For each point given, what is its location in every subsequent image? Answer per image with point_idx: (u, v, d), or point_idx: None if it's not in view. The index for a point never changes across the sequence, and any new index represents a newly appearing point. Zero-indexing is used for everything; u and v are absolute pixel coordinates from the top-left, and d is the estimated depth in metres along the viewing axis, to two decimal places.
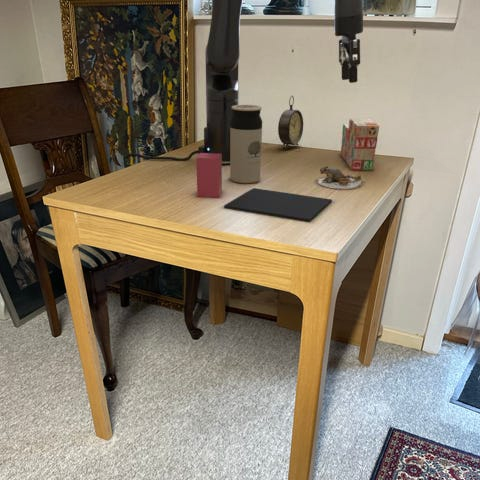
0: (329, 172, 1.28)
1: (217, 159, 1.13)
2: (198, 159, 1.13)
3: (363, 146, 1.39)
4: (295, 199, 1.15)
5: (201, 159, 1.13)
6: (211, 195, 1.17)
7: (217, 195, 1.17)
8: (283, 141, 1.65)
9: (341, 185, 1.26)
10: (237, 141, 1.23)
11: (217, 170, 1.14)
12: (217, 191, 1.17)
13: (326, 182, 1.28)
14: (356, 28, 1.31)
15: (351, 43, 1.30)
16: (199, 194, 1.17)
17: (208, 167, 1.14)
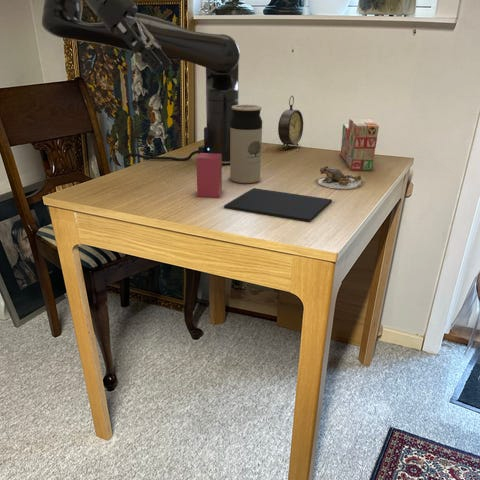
0: (329, 172, 1.28)
1: (217, 159, 1.13)
2: (198, 159, 1.13)
3: (362, 146, 1.39)
4: (295, 199, 1.15)
5: (201, 159, 1.13)
6: (211, 195, 1.17)
7: (217, 195, 1.17)
8: (283, 141, 1.65)
9: (341, 185, 1.26)
10: (237, 141, 1.23)
11: (217, 170, 1.14)
12: (217, 191, 1.17)
13: (326, 182, 1.28)
14: (118, 9, 0.99)
15: (117, 30, 0.98)
16: (199, 194, 1.17)
17: (208, 167, 1.14)
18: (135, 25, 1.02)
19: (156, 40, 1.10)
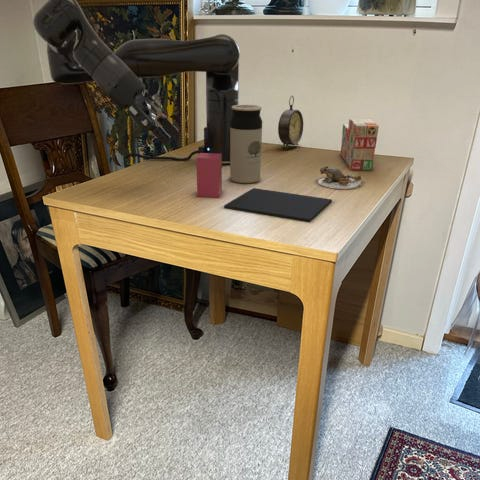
0: (329, 172, 1.28)
1: (217, 159, 1.13)
2: (198, 159, 1.13)
3: (362, 146, 1.39)
4: (295, 199, 1.15)
5: (201, 159, 1.13)
6: (211, 195, 1.17)
7: (217, 195, 1.17)
8: (283, 141, 1.65)
9: (341, 185, 1.26)
10: (237, 141, 1.23)
11: (217, 170, 1.14)
12: (217, 191, 1.17)
13: (326, 182, 1.28)
14: (129, 92, 1.07)
15: (129, 113, 1.06)
16: (199, 194, 1.17)
17: (208, 167, 1.14)
18: (144, 104, 1.09)
19: (163, 110, 1.18)
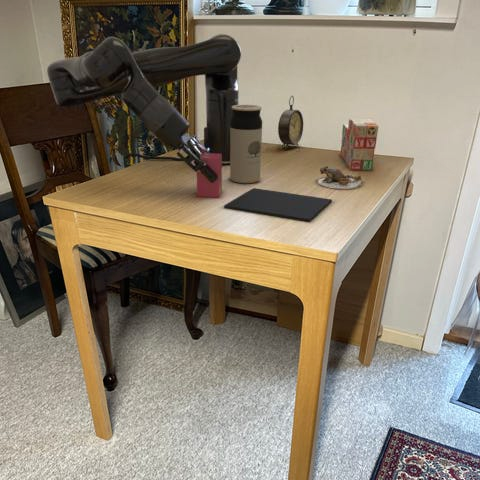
0: (329, 172, 1.28)
1: (217, 159, 1.13)
2: None
3: (362, 146, 1.39)
4: (295, 199, 1.15)
5: None
6: (211, 195, 1.17)
7: (217, 195, 1.17)
8: (283, 141, 1.65)
9: (341, 185, 1.26)
10: (237, 141, 1.23)
11: (217, 170, 1.14)
12: (217, 191, 1.17)
13: (326, 182, 1.28)
14: (175, 132, 1.10)
15: (180, 156, 1.09)
16: (199, 194, 1.17)
17: None
18: (190, 143, 1.12)
19: (206, 149, 1.20)
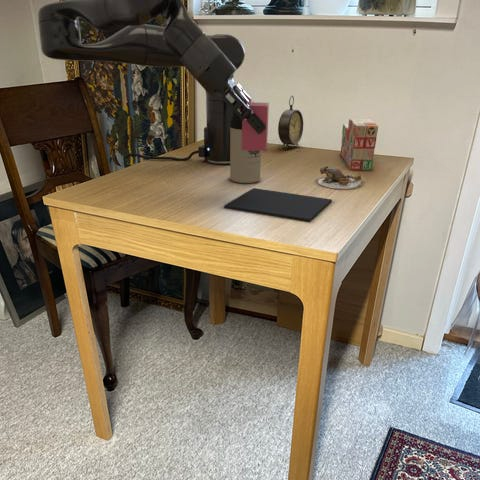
0: (329, 172, 1.28)
1: (266, 107, 1.03)
2: None
3: (362, 146, 1.39)
4: (295, 199, 1.15)
5: None
6: (257, 148, 1.07)
7: (264, 148, 1.07)
8: (283, 141, 1.65)
9: (341, 185, 1.26)
10: (237, 141, 1.23)
11: (265, 119, 1.04)
12: (264, 144, 1.06)
13: (326, 182, 1.28)
14: (221, 75, 0.99)
15: (226, 101, 0.99)
16: (244, 147, 1.07)
17: None
18: (236, 88, 1.02)
19: (251, 99, 1.10)
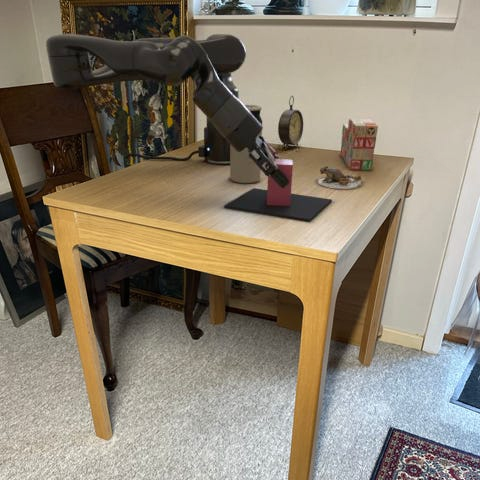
0: (329, 172, 1.28)
1: (291, 165, 1.06)
2: None
3: (362, 146, 1.39)
4: (295, 199, 1.15)
5: None
6: (282, 203, 1.10)
7: (288, 203, 1.10)
8: (283, 141, 1.65)
9: (341, 185, 1.26)
10: None
11: (290, 177, 1.07)
12: (288, 199, 1.10)
13: (326, 182, 1.28)
14: (249, 135, 1.03)
15: (251, 157, 1.02)
16: (269, 202, 1.10)
17: None
18: (263, 146, 1.05)
19: (273, 149, 1.14)
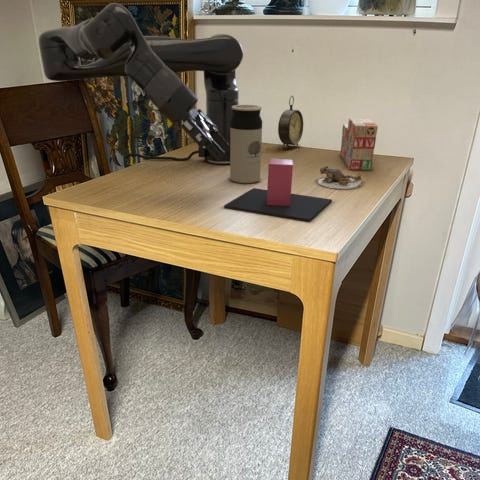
0: (329, 172, 1.28)
1: (291, 165, 1.06)
2: (270, 165, 1.06)
3: (361, 146, 1.39)
4: (295, 199, 1.15)
5: (274, 165, 1.06)
6: (282, 203, 1.10)
7: (288, 203, 1.10)
8: (283, 141, 1.65)
9: (341, 185, 1.26)
10: (237, 141, 1.23)
11: (290, 177, 1.07)
12: (288, 199, 1.10)
13: (326, 182, 1.28)
14: (182, 106, 1.02)
15: (184, 128, 1.01)
16: (269, 202, 1.10)
17: (281, 174, 1.07)
18: (198, 118, 1.05)
19: (213, 123, 1.13)
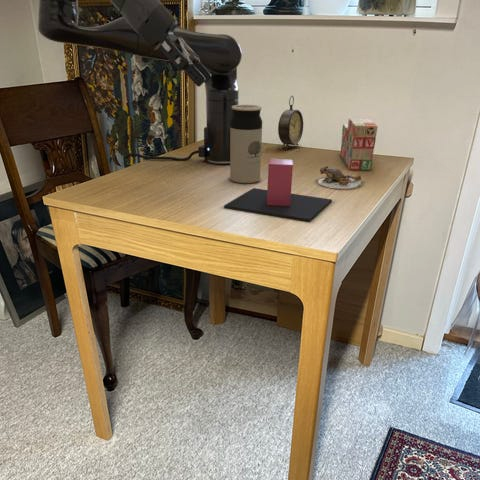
0: (329, 172, 1.28)
1: (291, 165, 1.06)
2: (270, 165, 1.06)
3: (361, 146, 1.40)
4: (295, 199, 1.15)
5: (274, 165, 1.06)
6: (282, 203, 1.10)
7: (288, 203, 1.10)
8: (283, 141, 1.65)
9: (341, 185, 1.26)
10: (237, 141, 1.23)
11: (290, 177, 1.07)
12: (288, 199, 1.10)
13: (326, 182, 1.28)
14: (161, 27, 0.99)
15: (162, 49, 0.98)
16: (269, 202, 1.10)
17: (281, 174, 1.07)
18: (177, 41, 1.01)
19: (194, 52, 1.09)
